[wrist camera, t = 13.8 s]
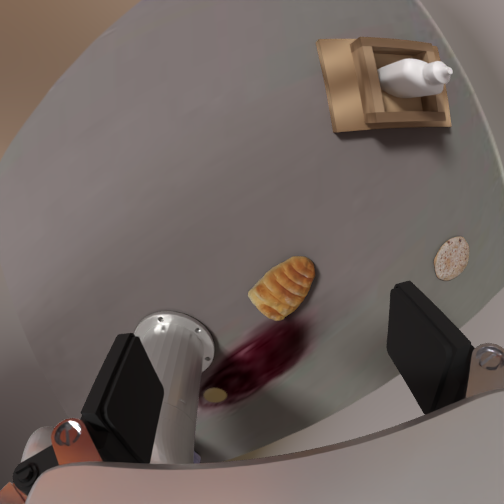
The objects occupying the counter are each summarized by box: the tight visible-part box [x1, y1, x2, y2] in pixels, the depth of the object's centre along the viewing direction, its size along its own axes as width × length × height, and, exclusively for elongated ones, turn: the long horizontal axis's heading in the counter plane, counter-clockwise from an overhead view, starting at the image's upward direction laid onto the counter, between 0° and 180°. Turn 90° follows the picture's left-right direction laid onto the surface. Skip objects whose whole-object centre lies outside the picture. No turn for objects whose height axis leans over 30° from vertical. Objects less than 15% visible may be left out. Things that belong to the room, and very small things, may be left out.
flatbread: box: [434, 237, 469, 281], centre depth 41 cm, size 8×8×1 cm
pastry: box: [248, 256, 315, 321], centre depth 40 cm, size 9×7×4 cm
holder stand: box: [316, 37, 451, 132], centre depth 30 cm, size 12×18×5 cm, turn 100°
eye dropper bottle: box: [377, 58, 453, 98], centre depth 25 cm, size 4×6×12 cm
